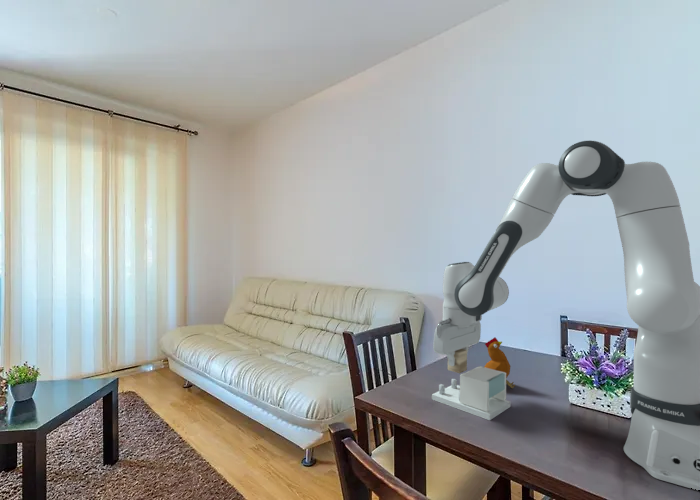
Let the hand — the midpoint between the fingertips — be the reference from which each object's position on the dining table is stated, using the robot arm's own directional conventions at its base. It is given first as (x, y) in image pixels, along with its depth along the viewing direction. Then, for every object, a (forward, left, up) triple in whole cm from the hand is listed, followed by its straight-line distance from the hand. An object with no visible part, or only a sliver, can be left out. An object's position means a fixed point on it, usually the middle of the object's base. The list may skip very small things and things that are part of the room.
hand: (457, 363), depth 111 cm
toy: (-2, -17, -11) cm, 20 cm away
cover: (-8, 0, -9) cm, 12 cm away
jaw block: (0, 0, -2) cm, 2 cm away
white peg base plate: (-4, 0, -11) cm, 11 cm away
